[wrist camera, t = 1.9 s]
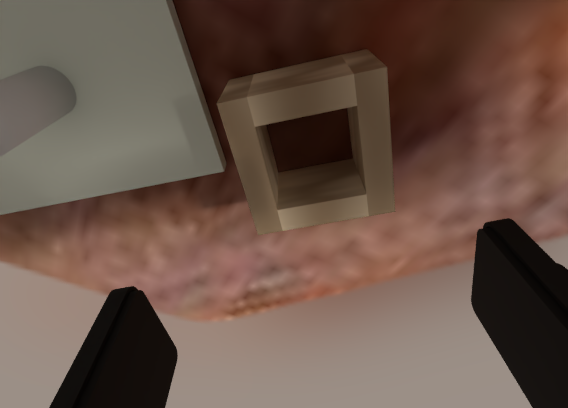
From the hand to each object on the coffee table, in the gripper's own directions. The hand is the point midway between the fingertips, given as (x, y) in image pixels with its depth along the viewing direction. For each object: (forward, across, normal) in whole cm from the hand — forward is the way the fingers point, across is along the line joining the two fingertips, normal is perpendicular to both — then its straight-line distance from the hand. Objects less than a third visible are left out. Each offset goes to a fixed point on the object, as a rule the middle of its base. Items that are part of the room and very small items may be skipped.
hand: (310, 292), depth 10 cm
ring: (+12, -1, 0) cm, 12 cm away
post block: (+12, +11, -5) cm, 17 cm away
